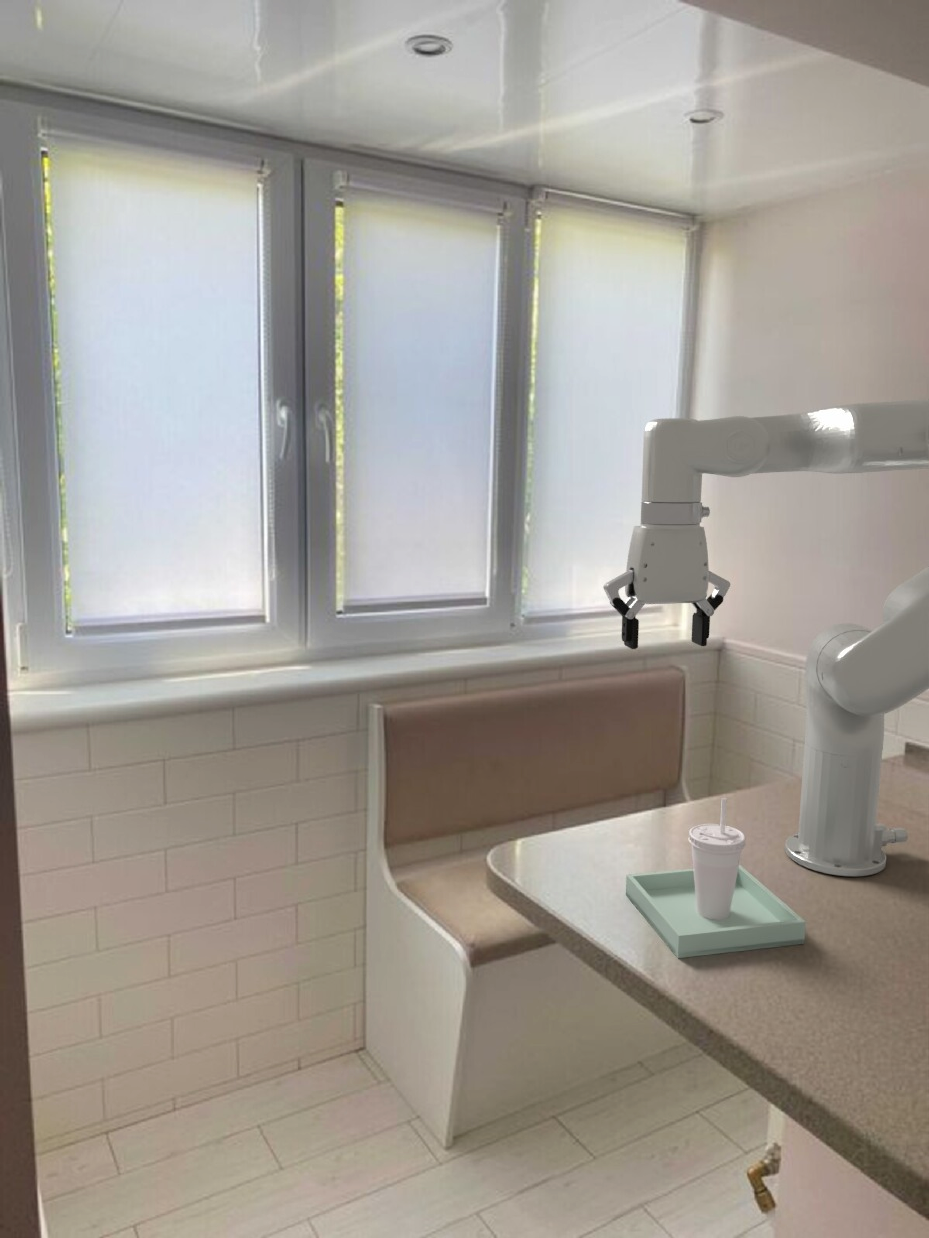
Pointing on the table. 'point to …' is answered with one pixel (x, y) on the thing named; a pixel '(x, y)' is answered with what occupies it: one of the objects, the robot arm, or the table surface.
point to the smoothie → (715, 865)
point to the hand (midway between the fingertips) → (665, 645)
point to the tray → (689, 934)
